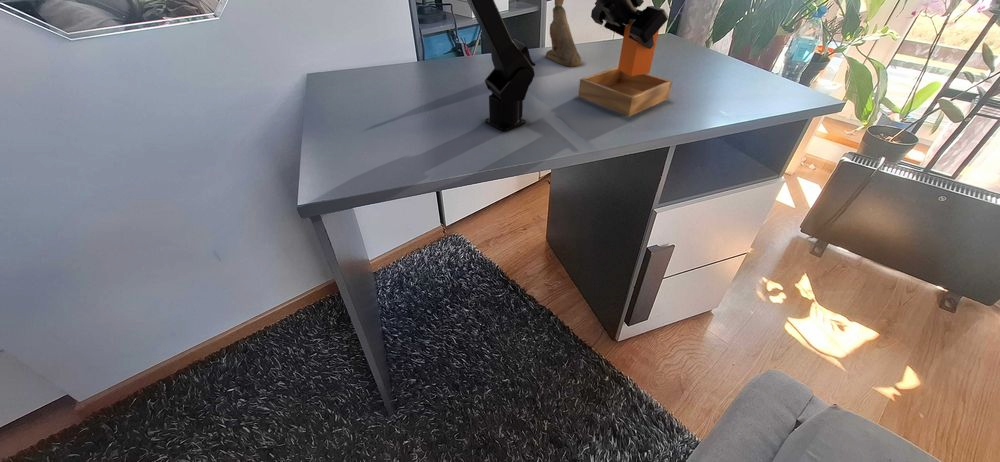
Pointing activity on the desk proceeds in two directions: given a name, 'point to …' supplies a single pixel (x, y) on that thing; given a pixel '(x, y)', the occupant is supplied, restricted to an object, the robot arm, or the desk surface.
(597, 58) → the desk surface
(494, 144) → the desk surface
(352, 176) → the desk surface
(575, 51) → the worn brown figurine
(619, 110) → the wooden box
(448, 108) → the desk surface
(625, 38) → the orange square pillar
